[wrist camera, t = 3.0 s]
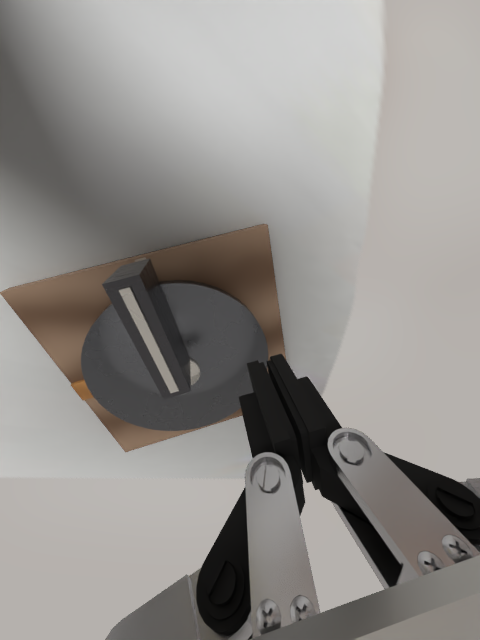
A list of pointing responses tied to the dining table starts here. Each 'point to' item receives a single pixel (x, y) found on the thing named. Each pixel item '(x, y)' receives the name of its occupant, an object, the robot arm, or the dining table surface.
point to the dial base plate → (170, 264)
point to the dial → (170, 351)
